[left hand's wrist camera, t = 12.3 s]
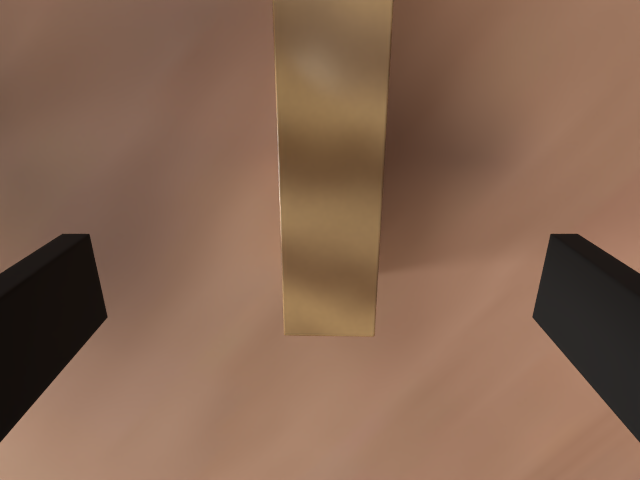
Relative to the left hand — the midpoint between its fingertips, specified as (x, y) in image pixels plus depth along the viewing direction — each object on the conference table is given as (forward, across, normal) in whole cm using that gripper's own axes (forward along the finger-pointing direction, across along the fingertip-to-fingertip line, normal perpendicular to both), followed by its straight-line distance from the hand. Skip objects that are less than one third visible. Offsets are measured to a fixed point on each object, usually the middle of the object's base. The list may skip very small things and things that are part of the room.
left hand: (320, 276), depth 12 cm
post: (+17, -1, -25) cm, 30 cm away
